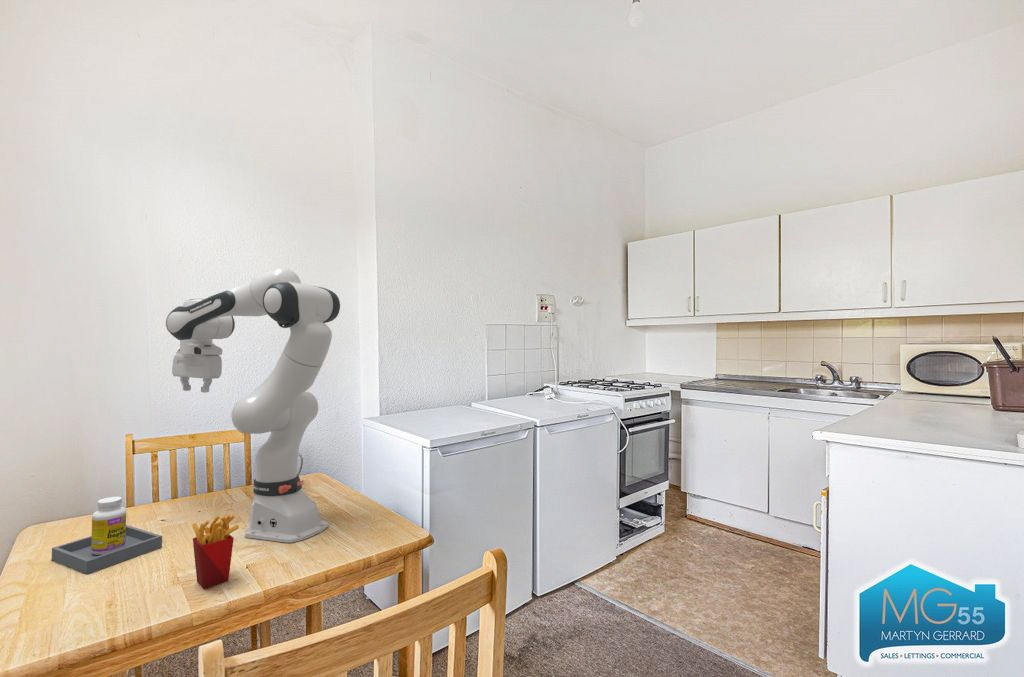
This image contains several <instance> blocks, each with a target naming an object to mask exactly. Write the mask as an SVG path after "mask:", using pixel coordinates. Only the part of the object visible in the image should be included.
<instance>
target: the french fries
mask: <svg viewBox="0 0 1024 677" xmlns="http://www.w3.org/2000/svg"><path fill="white" fill-rule="evenodd" d="M235 518H236V516H235V515H230V514H228V515H227V516H226V517H225V516H221V515H218V514H217V515H216V516H215V517H214V519H213V520H212V522H211V520H210V519H207V520H205V522H200V526H198V525H197V522H194V523H192V524H191V526H192V529H193V530H194V535H195V537H192V545H193V555H194V564H195V565H194V566H195V573H196V583H197V584H199V586H200V587H201V589H203V590H207V589H210V588H213V587H217V586H218V585H222V584H224V583H225V584H226V583H228V582H229V579H230V571H231V565H232V564H231V563H232V556H233V547H234V539H235V538H234V537H233V536H232V535H231V534H232V533H234V532H236V530H238V529H240V526H239V524H235V525H234V526H231V527H230V525H229V524H230V523H231V522H232V521H233V520H234V519H235ZM219 519H220V520H221V521H220V520H219ZM210 522H211V523H210ZM209 523H210V525H209ZM208 525H209V526H208Z"/></svg>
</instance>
